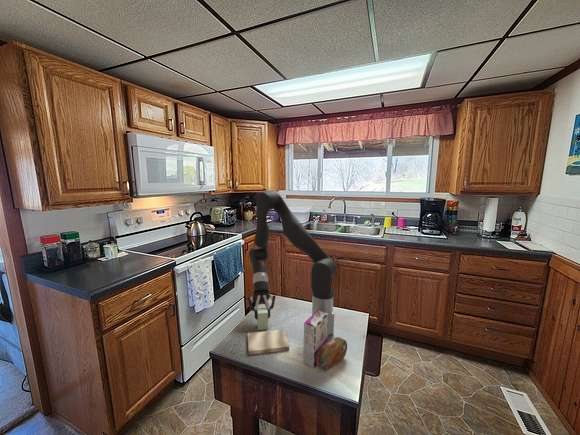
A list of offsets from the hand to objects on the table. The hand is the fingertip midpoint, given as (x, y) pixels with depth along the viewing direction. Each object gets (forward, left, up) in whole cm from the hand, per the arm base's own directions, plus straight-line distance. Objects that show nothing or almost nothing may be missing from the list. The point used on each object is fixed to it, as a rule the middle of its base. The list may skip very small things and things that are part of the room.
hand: (262, 318), depth 112 cm
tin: (-23, +27, -5) cm, 36 cm away
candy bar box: (-18, +23, -5) cm, 29 cm away
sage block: (0, -1, -5) cm, 5 cm away
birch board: (-1, +11, -5) cm, 12 cm away
